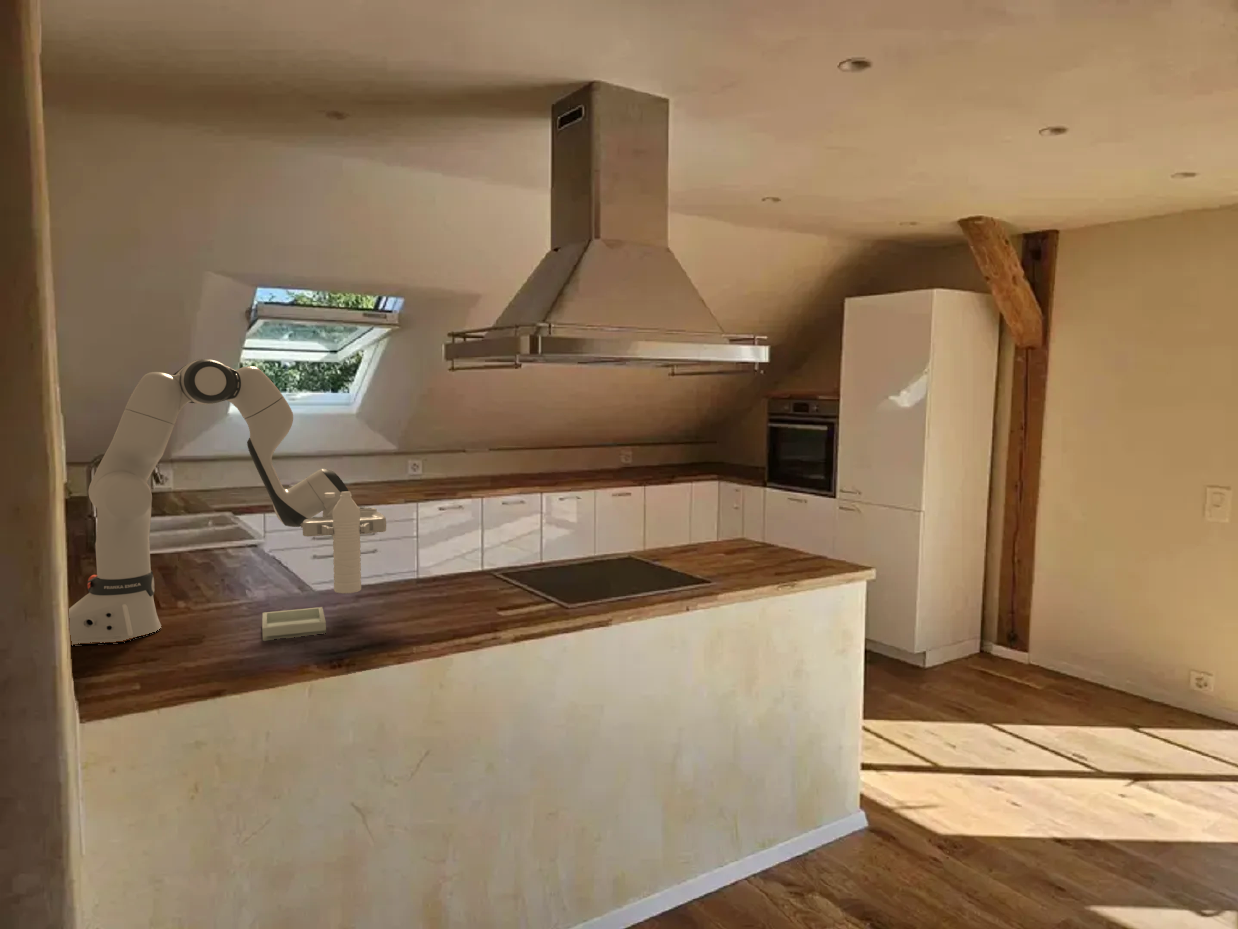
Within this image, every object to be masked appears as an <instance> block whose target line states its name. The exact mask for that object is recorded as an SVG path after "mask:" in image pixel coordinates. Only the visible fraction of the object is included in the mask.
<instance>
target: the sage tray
mask: <svg viewBox="0 0 1238 929" xmlns="http://www.w3.org/2000/svg"><path fill="white" fill-rule="evenodd" d="M261 621H262V622H261V623H262V625H261V626H262V628H261V629H262V641H264V642H267V641H274V639H277V640H281V639H280V638H286V639H295V638H302V637H301V636H305V637H308V636H307V635H314V636H316V635H315V634H322V633H324V635H326V634H327V622H326V618H325V612H324V609H323V606H319V607H309V608H296V609H288V610H287V609H286V610H277V611H268V612H266V611H265V612H262V620H261ZM325 633H326V634H325ZM294 637H295V638H294Z"/></svg>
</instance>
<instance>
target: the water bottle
mask: <svg viewBox="0 0 1238 929" xmlns="http://www.w3.org/2000/svg"><path fill="white" fill-rule="evenodd" d="M326 496H332V497H335V493H333V492H329V493H325V497H326ZM340 496H341V498H340V500H339V501H338V502H337V504H336V505H335V507H334V509H333V513H332V517H333V530H334V531H333V532H334V535H333V536H332V548H333V552H332V555H333V556H332V557H333V562H332V563H333V591H334V592H335V593H337V594H344V595H345V594H354V593H357V592H360V591H361V590H362V572H361V571H362V566H361V560H362V559H361V535H360V510H359V508H358V507H359V506H358V505H357V504H356V501H354V499H353V498H352V496H353V495H352V493H351V491H350V490H348V491H343V492H341V495H340ZM332 497H326V498H332Z"/></svg>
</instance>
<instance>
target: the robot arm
mask: <svg viewBox="0 0 1238 929" xmlns="http://www.w3.org/2000/svg"><path fill="white" fill-rule="evenodd" d="M225 401H227V402H229V403H231V404H232V405H233V406H234V407H235V408H236V409H237V410H238V412H239V414H240V415H241V416H242V418H243V419H244V420H245V422H246V424H247V426H248V430H249V431H248V432H249V438H248V440H246V445H247V450H248V451H249V455H250V457H251V460H252V461H253V463H254V466H255V468H256V470H257V472H258V474H259V477H260V479H261V481H262V483H263V485H264V487H265V489H266V491H267V494H268V495H269V497H270V500H271V503H272V507H273V510H274V513H275V515H276V517H277V519H278V520H279V522H280V523H282V524H283V525H284V526H285V527H291V528H299V527H300V528H302V536H303V537H322V536H324V537H325V536H331V537H333V535H334V532H333V531H334V530H333V517H332V513H333V509H334V507H335V505H336V504H337V502H338V501H339V500H340V498H341V496H340V495H341V492H343V491H349V489H348V487H347V486H346V484H345V482H344V481H343V480H342V478H340V476H339V475H338V474H337V473H336V472H335V471H332V470H330V469H326V468H320V469H318V470H316V471H315V472H313V473H311V474H310V475H308V476H307V477H305V478H304V479H303V480H301V481H299V482H298V483H296V484H294V485H293V486H291V487H289V488H284V486H283V485H282V482H281V480H280V479H279V476H278V474H277V471H276V469H275V467H274V465H273V460H272V459H273V454H274V453H275V451H276V450H277V448H278V447H279V445H280V444H281V443H282V442H283V440H284V439H285V438H286V437H287V436H288V434H289V432H290V430H291V429H292V427H293V422H294V413H293V411H292V408H291V406H290V404H289V403H288V401H287V400H286V398H285V397H284V396H283V394H282V392H281V391H280V389H279V388H278V387H277V386H276V385H275V383H274V382H273V381H272V380H271V378H270V377H269V376H267V375H266V374H265V372H263V371H262V370H261V369H260V368H259V367H257V366H253V365H250V366H249V365H248V366H243V367H240V368H238V369H234V368H231V367H229V366H227V365H226V364H224V363H222V362H220V361H218V360H216V359H207V358H206V359H205V358H204V359H203V358H201V359H200V358H199V359H196V360H195V359H194V360H192V361H190V362H189V363H187V364H184V366H182V367H181V368H180V369H179V370H177V371H176V372H174V373H173V374H169V373H166V372H163V371H161V372H160V371H151V372H148V373H146V374H144V375H143V376H142V377H141V378H140V380H139V381H138V383H137V385H136V386H135V388H134V389H133V391H132V393H131V395H130V397H129V398H128V400H127V403H126V405H125V408H124V411H123V413H122V414H121V418H120V420H119V422H118V425H117V428H116V431H115V433H114V435H113V438H112V440H111V441H110V444H109V445H108V448H107V450H106V451H105V453H104V455H103V457H102V459H101V460H100V463H99V465H98V466H97V469H96V471H95V473H94V475H93V477H92V479H91V481H90V483H89V486H88V497H89V500H90V502H91V504H92V505H93V507H95V508H96V518H97V519H96V538H95V545H94V546H95V558H96V560H95V561H96V574H92V575H91V576H89V577H88V579H87V591H88V593H87V594H86V595H84V596H83V597H82V598H81V599H79V600H78V601H77V602H76V603H74V604H73V605H72V606H70V607H69V608H68V609H69V618H70V635H71V641H72V646H73V644H78V643H79V644H80V643H90V642H91V643H92V642H100V643H102V642H104V643H105V642H116V641H123V640H126V639H129V638H133V637H137V636H141V635H145V634H149V633H152V632H155V633H156V631H157V630H158V631H160V630H161V629H162V627H161V626H162V624H161V622H160V619H159V616H158V613H157V609H156V604H155V601H154V594H155V578H154V572H153V570H151V550H150V549H151V548H150V532H151V522H152V521H151V520H152V502H153V495H152V490H151V487H150V485H149V484H148V481H149V479H150V476H151V475H152V473H153V471H154V470H155V468H156V467H157V465H158V463H159V462H160V460H161V458H162V457H163V456H164V453H165V451H166V448H167V447H168V442H169V440H170V438H171V435H172V432H173V430H174V427H175V425H176V422H177V420H178V417H179V413H181V410H182V409H183V408H184V407H185V406H186V405H187V404H188V403H189V404H198V405H208V406H209V405H212V404H217V403H221V402H222V403H223V402H225ZM329 492H333V493H335V497H332V496H326V497H332V498H326V497H325V493H329ZM358 508H359V510H360V536H361V535H367V534H374V533H384V532H386V531H387V518H386V516H385V515H384V514H383V513H381V512H379V511H377V508H375V507H365V506H364V507H362V506H361V507H360V506H358ZM321 512H322V517H321V516H320V517H315V516H317V515H318V514H319V513H321ZM160 628H161V629H160ZM159 629H160V630H159ZM158 631H157V632H158ZM152 634H153V633H152ZM73 647H74V646H73Z"/></svg>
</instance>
